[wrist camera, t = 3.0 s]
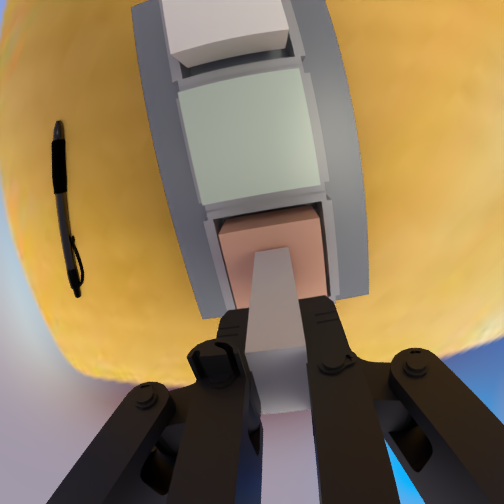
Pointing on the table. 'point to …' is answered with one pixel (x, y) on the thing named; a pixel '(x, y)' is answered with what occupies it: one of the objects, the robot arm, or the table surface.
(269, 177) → the key green
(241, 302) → the key terracotta
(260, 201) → the keypad
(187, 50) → the key ivory
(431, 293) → the table surface
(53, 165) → the pen
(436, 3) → the table surface
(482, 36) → the table surface
